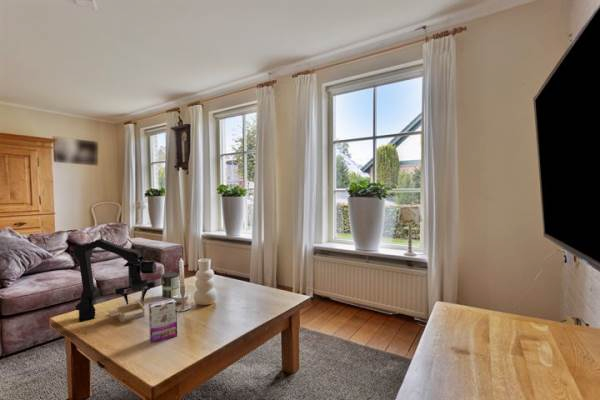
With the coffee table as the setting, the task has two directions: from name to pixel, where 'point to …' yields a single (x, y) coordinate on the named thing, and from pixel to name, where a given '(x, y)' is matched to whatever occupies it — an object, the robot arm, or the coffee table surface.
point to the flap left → (126, 303)
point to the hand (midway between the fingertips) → (135, 302)
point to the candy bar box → (162, 320)
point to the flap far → (142, 302)
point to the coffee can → (170, 285)
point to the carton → (128, 312)
